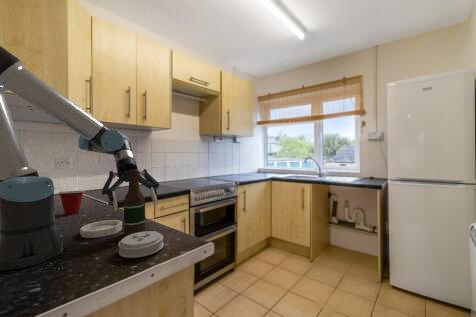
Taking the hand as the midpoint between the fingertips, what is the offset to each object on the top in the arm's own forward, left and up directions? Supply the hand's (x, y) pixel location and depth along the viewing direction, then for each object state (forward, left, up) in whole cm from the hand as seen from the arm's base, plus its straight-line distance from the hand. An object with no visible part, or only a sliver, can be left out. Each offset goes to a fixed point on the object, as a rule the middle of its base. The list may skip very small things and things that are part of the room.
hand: (136, 205), depth 81 cm
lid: (-12, -8, -12) cm, 19 cm away
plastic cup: (+30, +53, -11) cm, 61 cm away
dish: (+4, +17, -11) cm, 20 cm away
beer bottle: (+2, +2, -11) cm, 12 cm away
